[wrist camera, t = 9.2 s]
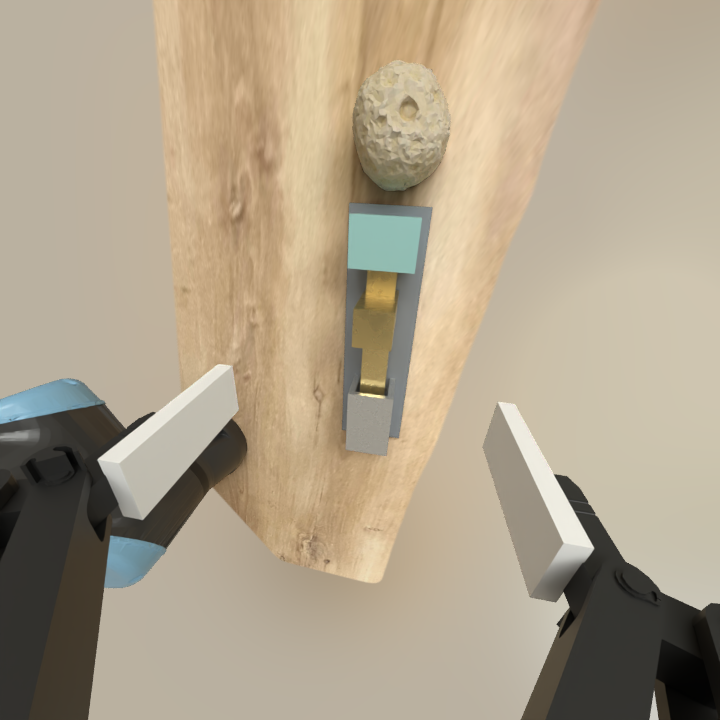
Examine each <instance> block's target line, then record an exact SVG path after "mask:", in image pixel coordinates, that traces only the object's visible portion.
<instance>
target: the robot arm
mask: <svg viewBox="0 0 720 720" xmlns="http://www.w3.org/2000/svg"><path fill="white" fill-rule="evenodd" d="M238 410H239V407H238V401H237V394H236V387H235V381H234V374H233V367H232V366H229V365H222V364H218V365H216V366H215V367H214V368H213V369H211V370H210V371H209V372H208V373H206V374H205V375H204V376H202V377H201V378H200V379H199V380H197V381H196V382H195V383H194V384H192V385H191V386H190V387H189V388H187V389H186V390H185V391H183V392H182V393H181V394H180V395H178V396H177V397H176V398H175V399H173V400H172V401H171V402H169V403H168V404H167V405H166V406H164V407H163V408H162V409H161V410H159V411H158V412H157V413H155V412H152V413H150V414H147V415H145V416H143V417H142V418H139V419H138V420H136V421H135V422H134V423H132V424H131V425H130V426H128V427H127V429H125V428H124V427H123V425H122V424H121V423H120V422H119V421H118V420H117V419H116V417H115V416H114V415H113V414H112V412H111V411H110V410H109V409H108V408H107V406H106V405H105V402H104V401H103V400H100V399H99V398H98V397H97V396H96V395H95V394H94V393H93V392H92V391H91V390H90V389H89V388H88V387H87V386H86V385H85V384H84V383H82V382H81V381H79V380H75V379H60V380H56V381H53V382H50V383H47V384H44V385H40V386H38V387H34V388H32V389H29V390H26V391H23V392H20V393H17V394H14V395H11V396H8V397H5V398H3V399H0V720H88V715H89V706H90V698H91V690H92V682H93V674H94V665H95V657H96V649H97V641H98V633H99V625H100V617H101V608H102V600H103V592H104V587H105V588H123V587H128V586H131V585H133V584H135V583H137V582H138V581H140V580H141V579H142V578H143V577H144V576H145V575H146V574H147V572H148V571H149V570H150V569H151V568H152V567H153V566H154V564H155V563H156V562H157V561H158V560H159V558H160V557H161V556H162V555H163V554H164V553H165V552H166V549H167V547H168V546H169V545H170V543H171V542H172V540H173V539H174V538H175V536H176V535H177V533H178V532H179V531H180V529H181V528H182V526H183V525H184V524H185V522H186V521H187V520H188V518H189V517H190V515H191V514H192V513H193V511H194V510H195V508H196V507H197V506H198V504H199V503H200V502H201V500H202V499H203V497H204V496H205V495H206V493H207V492H208V491H209V489H211V488H212V487H213V486H215V485H216V484H217V483H219V482H220V481H221V480H222V479H224V478H225V477H226V476H227V475H229V474H231V473H232V472H234V471H235V470H236V469H237V468H238V466H239V465H240V463H241V462H242V460H243V459H244V457H245V455H246V452H247V444H246V440H245V437H244V435H243V433H242V431H241V429H240V428H239V427H238V425H237V424H236V423H235V422H234V421H233V420H232V419H231V418H232V417H233V416H234V415H235V414H236V412H237V411H238ZM483 449H484V453H485V456H486V459H487V462H488V465H489V468H490V472H491V475H492V478H493V481H494V484H495V487H496V490H497V494H498V497H499V500H500V504H501V507H502V510H503V513H504V515H505V519H506V523H507V526H508V529H509V532H510V535H511V538H512V542H513V545H514V548H515V551H516V555H517V558H518V561H519V564H520V567H521V570H522V574H523V577H524V580H525V583H526V586H527V590H528V593H529V596H530V597H531V598H536V599H541V600H546V601H551V602H557V600H558V599H559V598H560V596H561V595H562V593H563V592H564V594H565V596H566V599H567V601H568V604H569V606H570V608H569V609H568V610H567V611H566V613H565V614H564V615H563V617H562V618H561V619H560V621H559V622H558V623H557V625H558V626H559V627H560V628H559V630H558V632H557V635H556V637H555V640H554V642H553V644H552V647H551V649H550V651H549V654H548V656H547V659H546V661H545V664H544V666H543V668H542V671H541V673H540V675H539V678H538V680H537V683H536V685H535V687H534V690H533V692H532V694H531V697H530V699H529V702H528V704H527V706H526V709H525V711H524V714H523V716H522V719H521V720H649V718H650V711H651V705H652V698H653V692H654V691H655V697H656V704H657V710H658V718H659V720H720V604H715V603H711V604H709V605H708V606H706V607H705V608H704V609H703V610H702V611H701V610H698V609H696V608H694V607H692V606H689V605H687V604H685V603H683V602H681V601H679V600H676V599H674V598H672V597H670V596H667V595H665V594H663V593H662V592H660V590H659V588H658V587H657V586H656V585H655V584H654V583H653V581H652V580H651V579H650V578H649V577H648V576H646V575H645V574H644V573H643V572H642V571H640V570H639V569H638V568H636V567H634V566H633V565H631V564H629V563H627V562H625V560H624V559H623V557H622V556H621V554H620V552H619V551H618V549H617V548H616V546H615V544H614V543H613V541H612V540H611V538H610V536H609V535H608V533H607V531H606V530H605V528H604V527H603V525H602V523H601V522H600V520H599V518H598V517H597V516H595V512H594V510H593V509H592V507H591V506H590V505H589V504H588V501H587V499H586V497H585V496H584V494H583V493H582V491H581V490H580V488H579V487H578V486H577V485H576V484H574V483H573V482H572V481H571V480H570V479H569V478H568V477H567V476H562V475H555V474H553V473H552V471H551V469H550V467H549V465H548V463H547V462H546V460H545V458H544V456H543V454H542V453H541V451H540V449H539V447H538V445H537V443H536V442H535V440H534V438H533V437H532V434H531V433H530V431H529V429H528V427H527V425H526V424H525V422H524V420H523V418H522V416H521V414H520V413H519V411H518V409H517V408H516V405H515V404H510V403H503V402H497V405H496V408H495V411H494V414H493V417H492V420H491V423H490V426H489V429H488V432H487V435H486V438H485V441H484V444H483Z"/></svg>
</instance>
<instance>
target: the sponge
mask: <svg viewBox="0 0 720 720" xmlns="http://www.w3.org/2000/svg"><path fill="white" fill-rule="evenodd" d="M449 129H450V113H449V110H448V103H447V101H446V98H445V97H444V94H443V91H442V89H441V87H440V85H439V84H438V83H437V79H436V76H435V75H434V74H433V73H432V69H427V68H426V67H425V66H423V65H421V64H417V63H406V62H404V61H401V60H395V61H393V62H391V63H389V64H387V65H386V66H384V67H380V68H379V70H378V72H376V73H374V74H373V75H371V76H370V77H369V78H367V79H366V81H364V83H363V84H362V86H361V88H360V89H359V92H358V96H357V100H356V103H355V107H354V111H353V134H354V142H355V146H356V149H357V152H358V156H359V159H360V161H361V165H362V168H363V171H364V172H365V173H366V174H367V175H368V176H369V178H370V179H371V180H372V181H373V182H374V183H375V184H377V185H378V186H379V187H380V188H382V189H384V190H386V191H396V190H401V191H405V189H407V188H408V187H411V186H414V185H417V184H418V183H420V182H422V181H423V180H424V179H426V178H427V177H429V176H430V175H431V174H432V173H433V171H435V169H436V168H437V166H438V165H439V164H440V162H441V160H442V158H443V155H444V153H445V151H446V146H447V142H448V138H449V135H450V131H449Z"/></svg>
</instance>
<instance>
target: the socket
mask: <svg viewBox="0 0 720 720" xmlns="http://www.w3.org/2000/svg"><path fill="white" fill-rule="evenodd" d="M421 223H422V218H421V217H410V216H393V215H377V214H361V213H355V214H349V237H348V268H350V269H362V270H374V271H386V272H398V273H410V274H415V268H416V260H417V253H418V245H419V238H420V231H421Z"/></svg>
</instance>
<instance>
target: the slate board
mask: <svg viewBox="0 0 720 720" xmlns="http://www.w3.org/2000/svg"><path fill="white" fill-rule="evenodd" d="M355 213H361V214H377V215H393V216H410V217H421V218H422V223H421V231H420V238H419V245H418V253H417V260H416V268H415V274H410V273H398V275H397V285H396V290H399V297H398V306H397V314H396V323H395V329H394V336H393V342H392V349H391V352H390V351H389V358H388V368H387V377H386V386H385V393H384V396H388V389H389V382H390V378H391V379H396V381H395V390H394V400H393V408H392V416H391V424H390V432H389V437H394V438H399V432H400V426H401V419H402V412H403V405H404V398H405V391H406V385H407V378H408V371H409V364H410V357H411V351H412V344H413V337H414V330H415V323H416V316H417V310H418V303H419V296H420V289H421V282H422V276H423V269H424V262H425V255H426V248H427V241H428V235H429V228H430V221H431V214H432V207H417V206H400V205H382V204H364V203H349V214H355ZM348 237H349V232H348ZM366 286H367V270H362V269H350V268H348V263H347V294H346V325H345V357H344V388H343V419H342V430H346V429H347V404H348V392H349V389H350V387H351V384H352V381H353V378H354V375H355V374H360V382H361V366H362V350H363V348H355V347H352V327H353V309H354V307H355V305H356V304H357V302H358V300H359V299H360V297H361V295H362V294H363V292H364V291H365V289H366ZM359 393H360V391H359Z"/></svg>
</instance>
